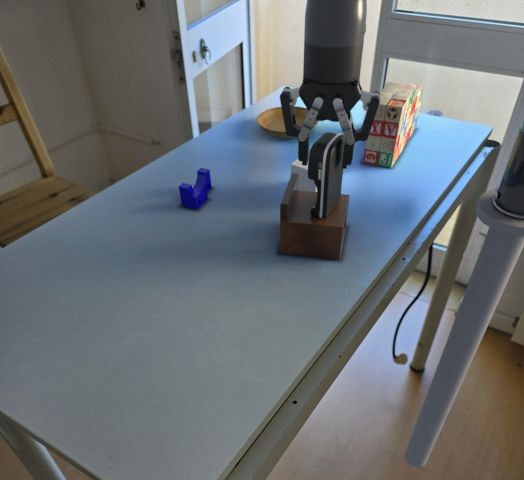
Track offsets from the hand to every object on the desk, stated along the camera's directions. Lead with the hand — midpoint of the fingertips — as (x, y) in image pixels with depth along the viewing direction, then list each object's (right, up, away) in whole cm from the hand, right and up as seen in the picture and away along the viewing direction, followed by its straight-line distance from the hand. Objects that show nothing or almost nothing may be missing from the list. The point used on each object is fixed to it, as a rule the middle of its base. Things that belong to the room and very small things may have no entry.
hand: (325, 164), depth 72 cm
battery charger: (0, -5, +6) cm, 8 cm away
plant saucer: (-3, +25, +41) cm, 48 cm away
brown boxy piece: (-1, -9, +10) cm, 14 cm away
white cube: (0, +3, +21) cm, 21 cm away
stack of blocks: (+19, +18, +34) cm, 43 cm away
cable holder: (-22, +2, +21) cm, 30 cm away
